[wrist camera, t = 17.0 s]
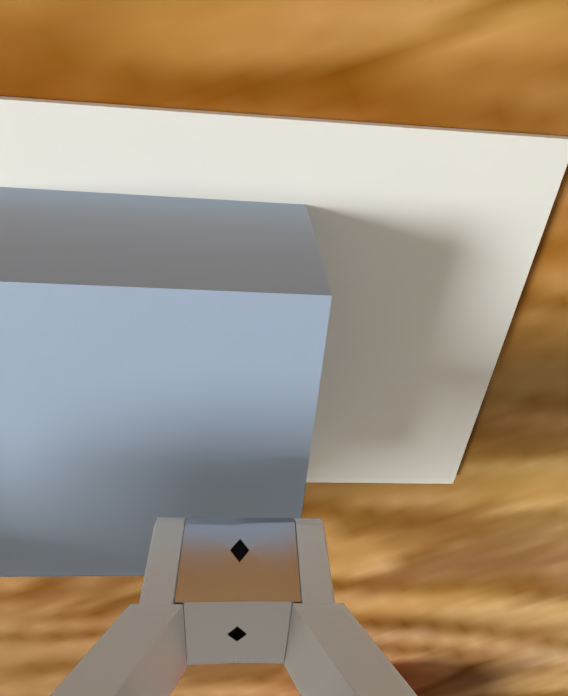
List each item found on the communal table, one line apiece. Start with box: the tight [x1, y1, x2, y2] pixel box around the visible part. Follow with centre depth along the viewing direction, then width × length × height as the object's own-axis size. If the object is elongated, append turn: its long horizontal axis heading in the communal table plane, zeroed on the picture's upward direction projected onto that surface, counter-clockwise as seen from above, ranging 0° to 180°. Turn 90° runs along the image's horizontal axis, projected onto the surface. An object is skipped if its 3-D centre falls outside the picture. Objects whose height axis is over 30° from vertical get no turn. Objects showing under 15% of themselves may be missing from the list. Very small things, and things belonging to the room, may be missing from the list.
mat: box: [0, 96, 568, 484], centre depth 15 cm, size 16×12×1 cm
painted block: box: [0, 187, 332, 577], centre depth 13 cm, size 5×8×8 cm
